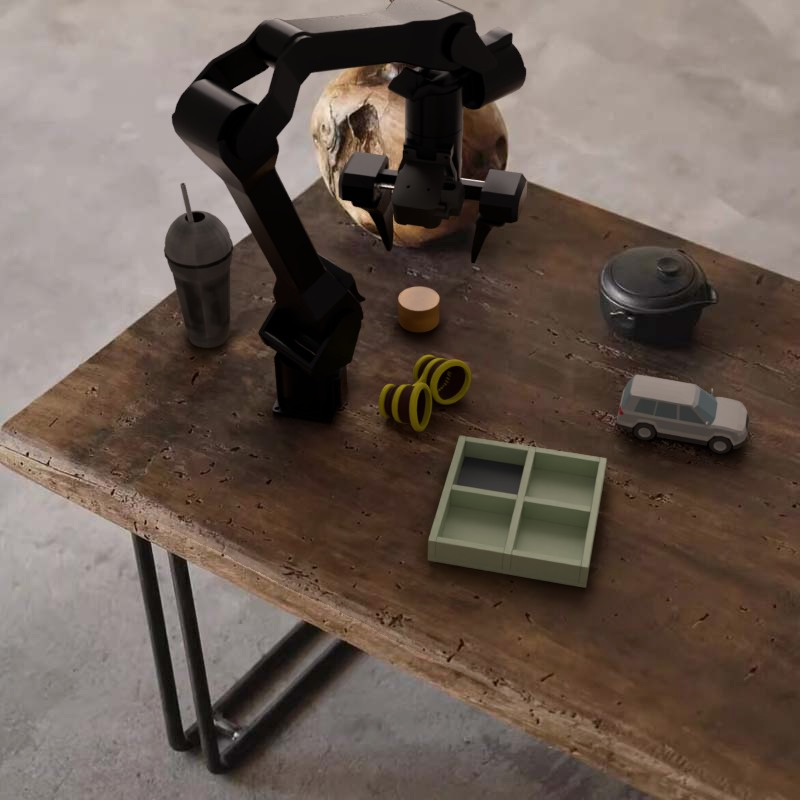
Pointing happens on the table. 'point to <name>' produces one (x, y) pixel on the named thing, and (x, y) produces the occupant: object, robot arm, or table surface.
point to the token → (418, 309)
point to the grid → (519, 511)
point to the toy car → (682, 414)
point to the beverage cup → (201, 273)
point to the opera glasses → (425, 391)
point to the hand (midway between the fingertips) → (431, 255)
